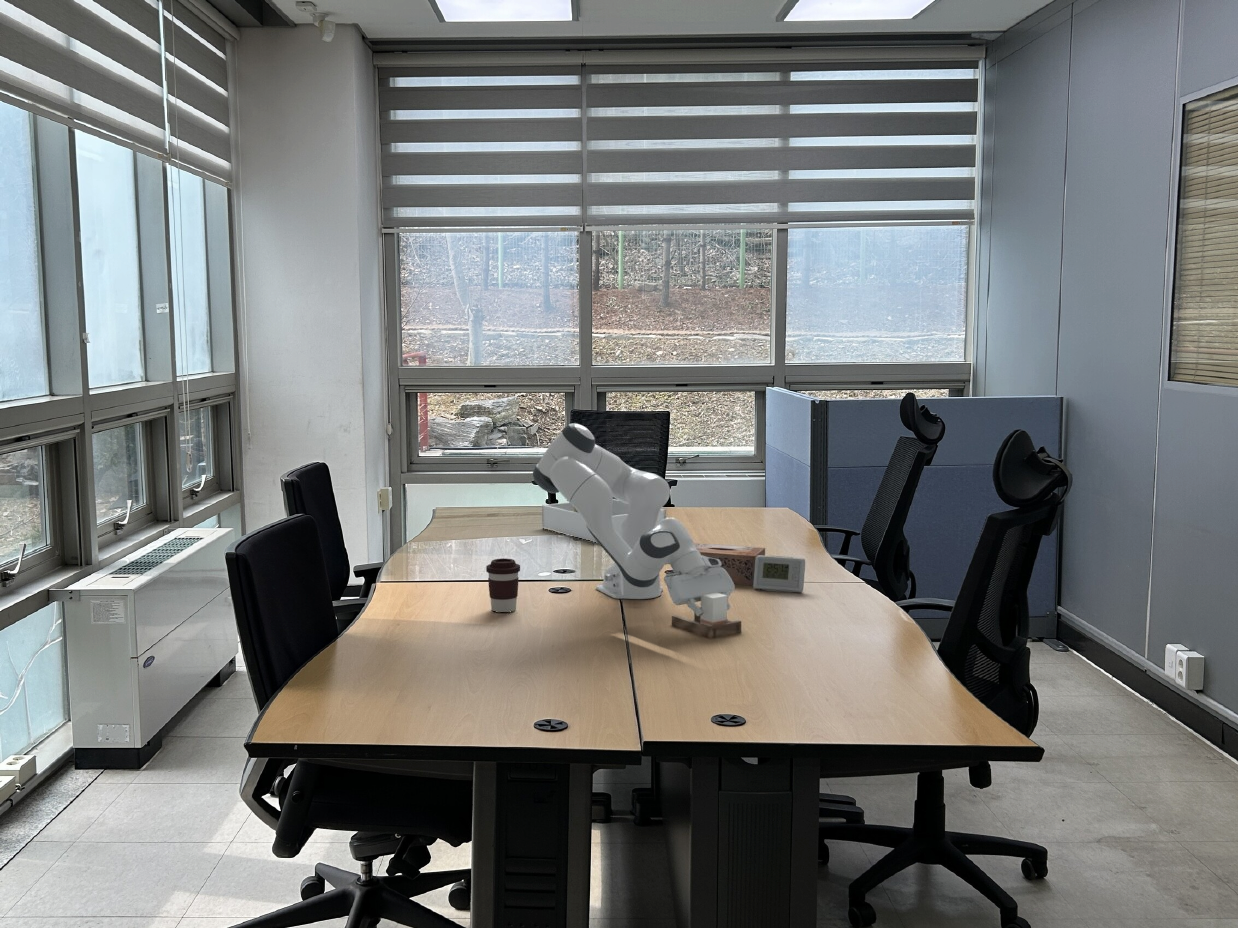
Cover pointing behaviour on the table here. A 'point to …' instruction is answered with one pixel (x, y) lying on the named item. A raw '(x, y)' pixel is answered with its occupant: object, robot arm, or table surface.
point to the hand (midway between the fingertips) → (714, 611)
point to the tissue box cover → (734, 560)
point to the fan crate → (573, 523)
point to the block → (714, 609)
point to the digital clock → (779, 573)
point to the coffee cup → (503, 584)
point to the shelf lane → (706, 627)
